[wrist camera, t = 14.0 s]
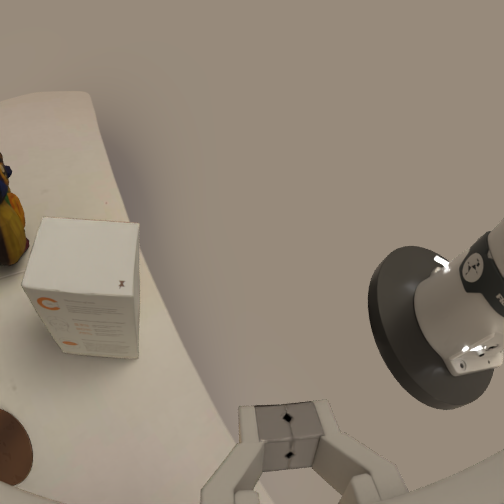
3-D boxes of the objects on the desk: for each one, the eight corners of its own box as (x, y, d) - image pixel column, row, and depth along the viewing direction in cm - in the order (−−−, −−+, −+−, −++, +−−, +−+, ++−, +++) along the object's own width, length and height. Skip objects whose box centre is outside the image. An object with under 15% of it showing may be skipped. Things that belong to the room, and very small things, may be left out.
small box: (140, 303, 33) (142, 221, 23) (139, 360, 29) (135, 298, 19) (68, 297, 30) (41, 214, 20) (61, 353, 26) (19, 287, 17)
